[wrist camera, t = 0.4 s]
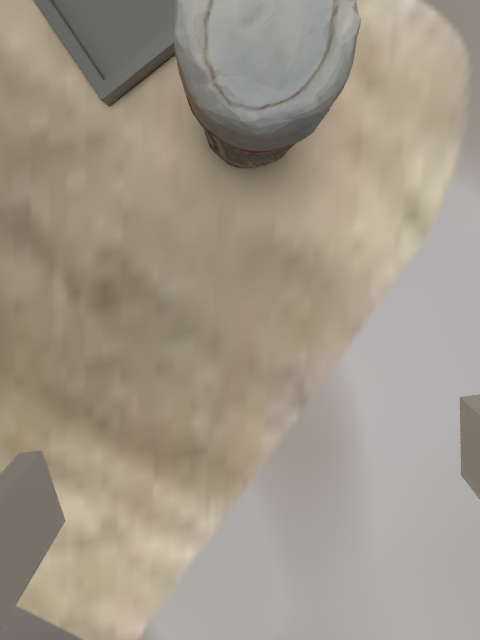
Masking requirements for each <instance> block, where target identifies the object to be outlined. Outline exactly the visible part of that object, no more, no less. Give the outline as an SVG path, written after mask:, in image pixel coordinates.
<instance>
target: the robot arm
mask: <svg viewBox="0 0 480 640" xmlns="http://www.w3.org/2000/svg"><path fill="white" fill-rule="evenodd" d="M460 430H461V431H460V432H461V475H462V477H463V478H464V480H465V481H466V482H467V483H468V485H469V486H470V487H471V489H472V490H473V491H474V492H475V494H476V495H477V496H478V498H479V499H480V395H472V396H466V397H460ZM64 522H65V518H64V515H63V512H62V509H61V506H60V503H59V500H58V497H57V494H56V491H55V488H54V485H53V482H52V479H51V476H50V473H49V470H48V467H47V464H46V461H45V458H44V455H43V452H42V451H34V452H26V453H19V454H18V455H17V457H16V458H15V459H14V460H13V461H12V462H11V463H10V464H9V465H8V466H7V467H6V468H5V470H4V471H3V472H2V473H1V474H0V632H1V630H2V628H3V626H4V625H5V623H6V621H7V619H8V618H9V616H10V614H11V613H12V611H13V609H14V608H15V606H16V604H17V602H18V601H19V599H20V597H21V596H22V594H23V592H24V591H25V589H26V587H27V585H28V584H29V582H30V580H31V579H32V577H33V575H34V573H35V572H36V570H37V568H38V567H39V565H40V563H41V561H42V560H43V558H44V556H45V555H46V553H47V551H48V550H49V548H50V546H51V544H52V543H53V541H54V539H55V538H56V536H57V534H58V532H59V531H60V529H61V527H62V526H63V524H64Z"/></svg>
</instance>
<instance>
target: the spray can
mask: <svg viewBox="0 0 480 640" xmlns="http://www.w3.org/2000/svg"><path fill="white" fill-rule="evenodd" d="M360 22H361V19H360V17H359V15H358V9H357V4H356V0H175V23H174V50H175V54H176V60H177V65H178V70H179V74H180V77H181V81H182V84H183V87H184V90H185V93H186V96H187V100H188V103H189V106H190V108H191V111H192V113H193V114H194V116H195V117H196V119H197V120H198V122H199V123H200V124H201V125H202V127H203V128H204V130H205V133H206V136H207V139H208V142H209V145H210V148H211V149H212V150H213V151H214V152H215V153H216V154H217V155H218V156H220V157H221V158H222V159H223V160H224V161H226V162H227V163H228V164H230V165H232V166H235V167H240V168H241V167H243V168H250V167H258V166H261V165H266V164H269V163H271V162H273V161H276V160H278V159H280V158H281V157H282V156H283V155H284V154H285V153H286V151H288V150H289V149H290V148H291V147H292V146H293V145H294V144H296V143H297V142H299V141H301V140H303V139H304V138H306V137H307V136H309V135H310V134H312V133H313V132H314V130H315V129H316V127H317V126H318V124H319V123H320V122H321V120H322V119H323V118H324V116H325V115H326V114H327V112H328V111H329V109H330V107H331V106H332V104H333V103H334V101H335V100H336V99H337V97H338V96H339V94H340V93H341V92H342V90H343V88H344V85H345V83H346V81H347V79H348V77H349V74H350V71H351V68H352V64H353V60H354V54H355V47H356V41H357V35H358V32H359V28H360Z"/></svg>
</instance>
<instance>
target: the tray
mask: <svg viewBox="0 0 480 640" xmlns="http://www.w3.org/2000/svg"><path fill="white" fill-rule="evenodd" d="M34 2H35V3H36V5H37V6H38V7H39V9H40V10H41V12H42V13H43V15H44V16H45V18H46V19H47V21H48V22H49V24H50V25H51V27H52V28H53V30H54V31H55V33H56V34H57V35H58V37H59V38H60V40H61V41H62V43H63V44H64V46H65V47H66V49H67V50H68V52H69V53H70V55H71V56H72V58H73V59H74V61H75V62H76V63H77V65H78V66H79V68H80V69H81V71H82V72H83V74H84V75H85V77H86V78H87V80H88V81H89V83H90V84H91V86H92V87H93V88H94V90H95V91H96V93H97V94H98V96H99V97H100V99H101V100H102V101H103V102H105V103H106V104H108V105H109V106H111V105H112V104H113V103H115V102H116V101H117V100H118V99H120V98H121V97H122V96H123V95H125V94H126V93H127V92H129V91H130V90H131V89H132V88H134V87H135V86H136V85H137V84H139V83H140V82H141V81H142V80H144V79H145V78H146V77H147V76H149V75H150V74H151V73H152V72H154V71H155V70H156V69H157V68H159V67H160V66H161V65H163V64H164V63H165V62H166V61H168V60H169V59H170V58H171V57H173V56H174V55H175V50H174V23H175V0H34Z"/></svg>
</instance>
